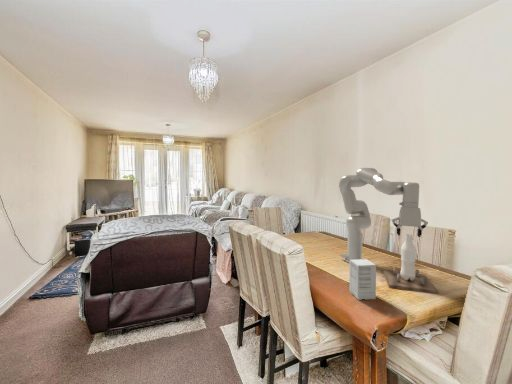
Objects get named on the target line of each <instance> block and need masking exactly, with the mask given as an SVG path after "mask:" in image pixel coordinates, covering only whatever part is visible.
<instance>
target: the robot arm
mask: <svg viewBox="0 0 512 384" xmlns="http://www.w3.org/2000/svg"><path fill="white" fill-rule="evenodd" d="M366 185H371V186H373V187H374V189H375V190H377V191H378V192H381V193H383V194H386V195H389V196H400V195H402V201H400V202H399V206H400V209H399V212H398V213H399V214H398V216H397V217H395V218H392V219H391V222H392V224H393V226H394V227H395V228H396V234H397V236H398V237H399V236H401V228H402V226H404V227H415V228H416V227H417V233H416V234H417V237H418V238H421V236H422V234H423V233H422V231H423V230H424V229H425V228H426V227H427V225H428V224H429V222H428V221H427V220H425V219H422V213H421V208H420V207H419V201H420V184H419V183H418V182H412V181H411V182H405V181H389V180H387V179H384V176H383V174H382V173H381V172H378V170H377V169H376V168H374V167H362V168H359V169H357V171H356V173H355V174H348V175H344V176H342V177H341V178H340V180H339V183H338V188H339V192H340V194H341V196H342V197H341V198H342V201H343V205H344V209H345V210H344V211H345V213H347V214H348V215H351V216H348V218H347V219H346V221H345V223H346V224H345V225H346V231H347V244H346V245H347V249H346V250H347V252H346V253H345V254H343V253H340V257H341V258H343V259H344V261H345V262H346V263H349V264H350V260H356V259H363V234H362V232H361V230H365V229H369V228H370V227H371V226H372V219H371V216H370V211H369V207H368V205H367V203H366V202H365V201H364V200H361V199H359V200H358V199H357V198H356V194H355V191H354V190H353V189H352V188H361V187H365V186H366ZM352 215H353V216H352ZM397 221H398V224H397V223H396V222H397ZM422 223H423V224H422Z"/></svg>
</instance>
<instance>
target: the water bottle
mask: <svg viewBox="0 0 512 384" xmlns="http://www.w3.org/2000/svg"><path fill="white" fill-rule="evenodd" d="M416 254H417V248H416V246H415V244H414V243H413V235H412V234H405V239H404V242H403V244H402V245H401V248H400V259H401V263H400V264H401V267H400V271H399V272H400V275H401V278H402V279H404V280H406V281H407V280H408V279H410V281H413V280H414V278H415V270H416V268H415V265H416V260H417V259H416V257H417V255H416Z"/></svg>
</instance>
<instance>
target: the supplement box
mask: <svg viewBox="0 0 512 384" xmlns="http://www.w3.org/2000/svg"><path fill="white" fill-rule="evenodd" d="M376 284H377V265H376V264H375V263H373V262H372V261H370V260H368V259H366V258H364V259H363V258H362V259H356V260H350V263H349V286H348V287H349V289H348V292H349V291H350V292H351V293H352V294H353V295H354V296H355V297H356V298H357V299H358V300H357V299H356V298H355V297H354V296H353V295H352V294H351V293H350V292H349V293H350V294H351V295H352V296H353V297H354V298H355V299H356V300H357V301H360V300H362V299H365V300H376V297H377V296H376V295H377V292H376V291H377V285H376ZM362 301H363V300H362Z"/></svg>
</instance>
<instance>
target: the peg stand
mask: <svg viewBox="0 0 512 384" xmlns="http://www.w3.org/2000/svg"><path fill="white" fill-rule="evenodd" d="M419 272H420V271H419V269H415V278H414V280H413V281H410V279H408V280H407V281H406V280H404V279H402V278H401V275H400V271H398V268H397V267H394V266H393V270H385V269H383V271H382V273H383V275H384V278H385V280H386V283H387V286H388V288H392V289H397V290H398V289H399V290H406V291H413V292H422V293H428V294H429V293H430V294H431V293H432V294H437V295H438V294H439V290H438V289H437V287H436V286H435V285H434V284H433V282H432V281H431V280H430V279H429V277H428V276H427V275H426V274H424V273H423V274H421V273H419Z"/></svg>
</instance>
